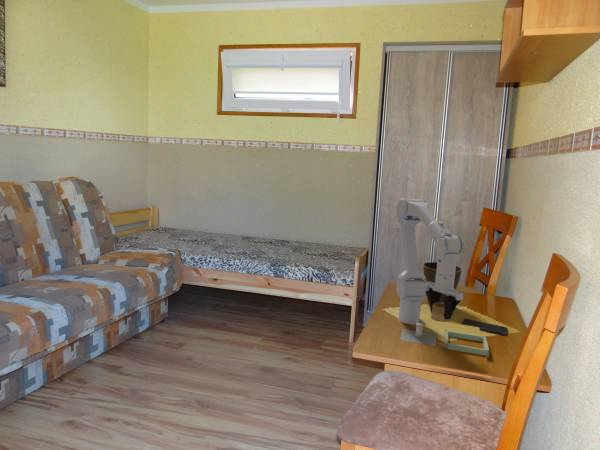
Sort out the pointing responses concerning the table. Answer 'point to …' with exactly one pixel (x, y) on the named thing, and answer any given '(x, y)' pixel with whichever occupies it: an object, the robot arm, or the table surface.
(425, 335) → the stake board
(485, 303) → the table surface
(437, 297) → the robot arm
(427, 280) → the plant pot
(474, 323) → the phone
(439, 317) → the wood ring
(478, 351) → the sage tray
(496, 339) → the table surface
